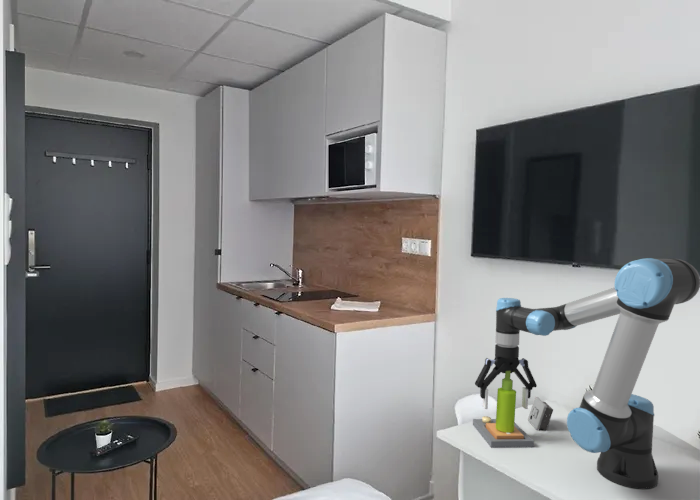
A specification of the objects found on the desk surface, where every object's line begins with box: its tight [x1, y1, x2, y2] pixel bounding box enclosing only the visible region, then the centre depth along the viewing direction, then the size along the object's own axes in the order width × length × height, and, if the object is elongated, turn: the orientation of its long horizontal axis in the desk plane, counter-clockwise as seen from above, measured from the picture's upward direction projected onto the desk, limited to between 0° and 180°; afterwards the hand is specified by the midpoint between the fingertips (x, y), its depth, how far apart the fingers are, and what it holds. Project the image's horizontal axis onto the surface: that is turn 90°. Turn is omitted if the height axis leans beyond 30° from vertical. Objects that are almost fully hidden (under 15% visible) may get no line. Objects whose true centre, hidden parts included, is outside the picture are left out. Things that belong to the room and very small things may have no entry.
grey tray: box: [472, 416, 535, 449], centre depth 161 cm, size 18×14×4 cm
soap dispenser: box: [495, 371, 517, 433], centre depth 159 cm, size 6×7×20 cm
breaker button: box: [486, 423, 524, 439], centre depth 159 cm, size 10×9×3 cm
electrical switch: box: [527, 396, 554, 431], centre depth 170 cm, size 9×5×9 cm, turn 178°
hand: (504, 407), depth 159 cm, fingers open, 13 cm apart
